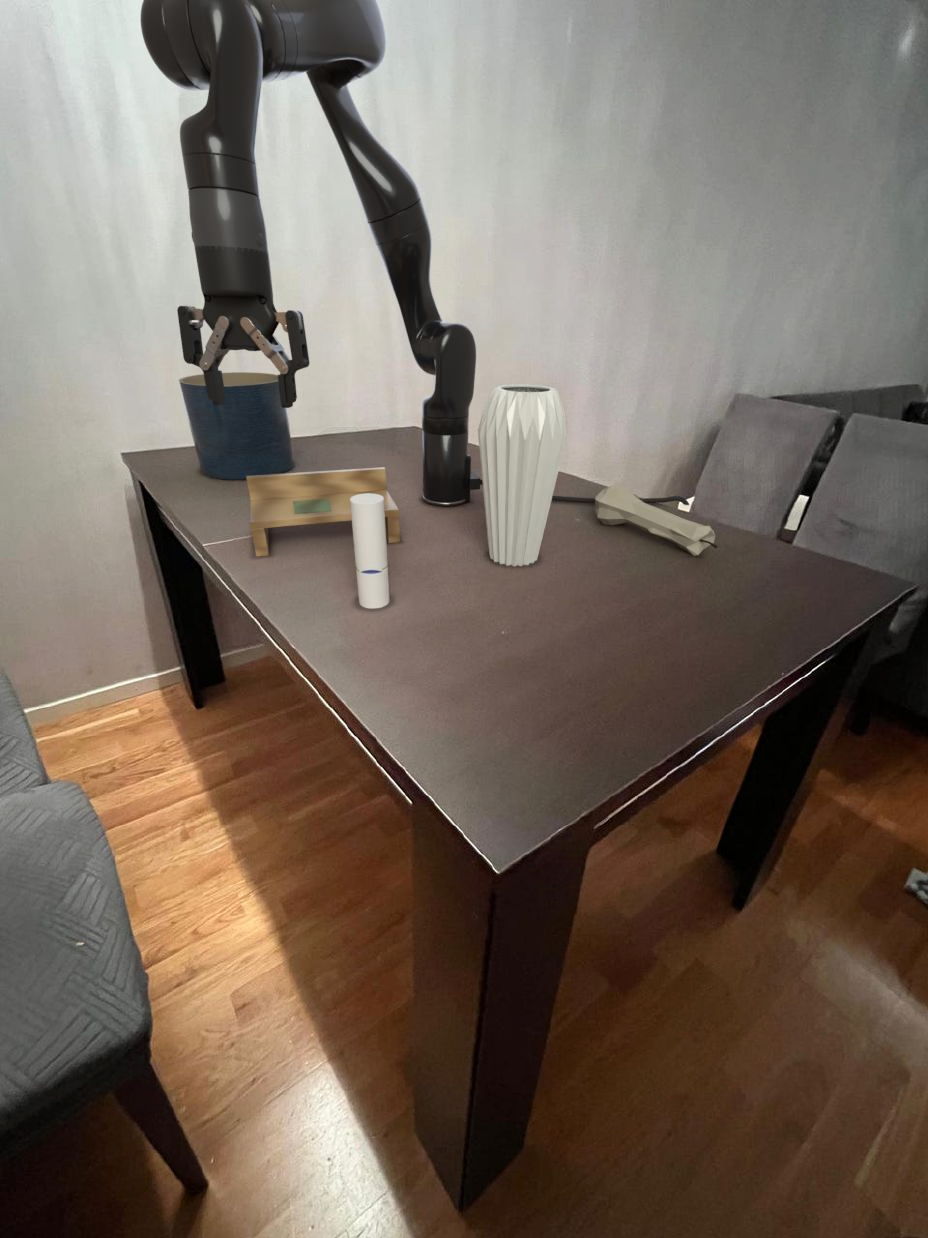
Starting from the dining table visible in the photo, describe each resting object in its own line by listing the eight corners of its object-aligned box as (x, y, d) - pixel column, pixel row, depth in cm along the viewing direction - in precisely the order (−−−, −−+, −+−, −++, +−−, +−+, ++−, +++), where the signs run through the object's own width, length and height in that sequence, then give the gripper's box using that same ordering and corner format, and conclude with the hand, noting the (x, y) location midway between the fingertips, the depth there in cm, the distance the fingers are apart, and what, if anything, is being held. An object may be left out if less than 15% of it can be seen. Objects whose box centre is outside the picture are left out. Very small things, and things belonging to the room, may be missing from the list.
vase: (487, 578, 85) (496, 396, 71) (464, 544, 96) (468, 382, 82) (566, 569, 88) (588, 394, 74) (535, 538, 99) (550, 380, 85)
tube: (375, 591, 80) (368, 491, 72) (395, 600, 78) (390, 498, 70) (352, 601, 77) (342, 498, 70) (373, 611, 75) (365, 506, 67)
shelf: (387, 518, 106) (384, 466, 101) (400, 542, 96) (397, 486, 91) (256, 530, 99) (246, 475, 94) (256, 556, 89) (244, 497, 84)
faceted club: (611, 508, 111) (727, 553, 95) (583, 527, 107) (699, 578, 92) (612, 468, 105) (737, 510, 89) (583, 488, 101) (706, 535, 86)
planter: (195, 461, 138) (175, 374, 127) (285, 452, 147) (273, 370, 136) (204, 485, 121) (181, 387, 110) (304, 474, 130) (292, 382, 119)
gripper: (307, 253, 62) (319, 404, 70) (186, 248, 63) (211, 399, 71) (283, 244, 56) (299, 412, 63) (148, 239, 56) (180, 406, 64)
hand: (253, 405), depth 67 cm, fingers open, 8 cm apart
